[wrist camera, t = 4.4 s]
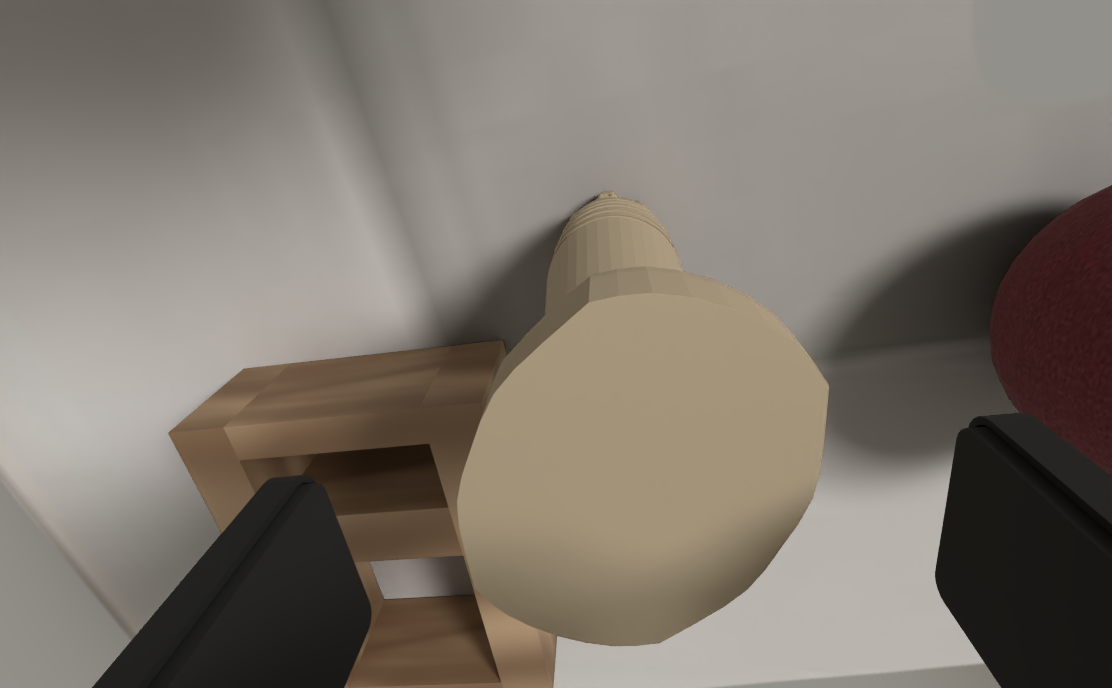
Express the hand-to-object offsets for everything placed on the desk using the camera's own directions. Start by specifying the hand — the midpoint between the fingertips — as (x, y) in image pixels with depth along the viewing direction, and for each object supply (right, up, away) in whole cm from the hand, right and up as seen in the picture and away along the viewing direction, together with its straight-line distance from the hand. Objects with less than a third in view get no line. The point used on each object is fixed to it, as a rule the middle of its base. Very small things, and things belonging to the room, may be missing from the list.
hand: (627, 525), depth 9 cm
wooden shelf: (-8, -5, +20) cm, 22 cm away
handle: (+1, +7, +13) cm, 15 cm away
